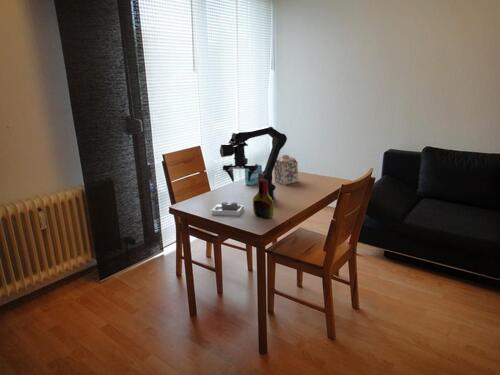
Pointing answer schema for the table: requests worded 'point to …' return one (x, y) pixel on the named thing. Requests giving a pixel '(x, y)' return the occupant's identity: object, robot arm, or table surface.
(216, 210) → the dock tray
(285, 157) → the decorative jar
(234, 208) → the plug
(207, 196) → the table surface
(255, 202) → the bottle
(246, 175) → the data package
